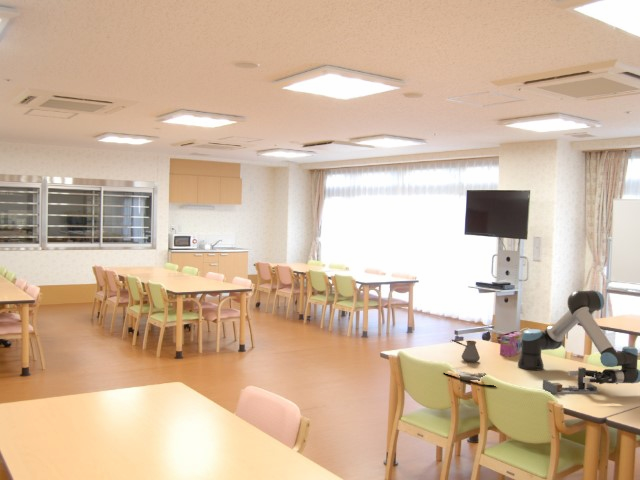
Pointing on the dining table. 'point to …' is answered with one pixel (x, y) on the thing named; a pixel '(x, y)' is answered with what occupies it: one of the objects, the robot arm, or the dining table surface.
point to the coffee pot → (469, 352)
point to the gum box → (511, 343)
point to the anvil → (550, 387)
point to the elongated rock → (470, 376)
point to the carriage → (580, 381)
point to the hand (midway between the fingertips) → (575, 376)
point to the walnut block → (558, 386)
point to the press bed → (590, 387)
